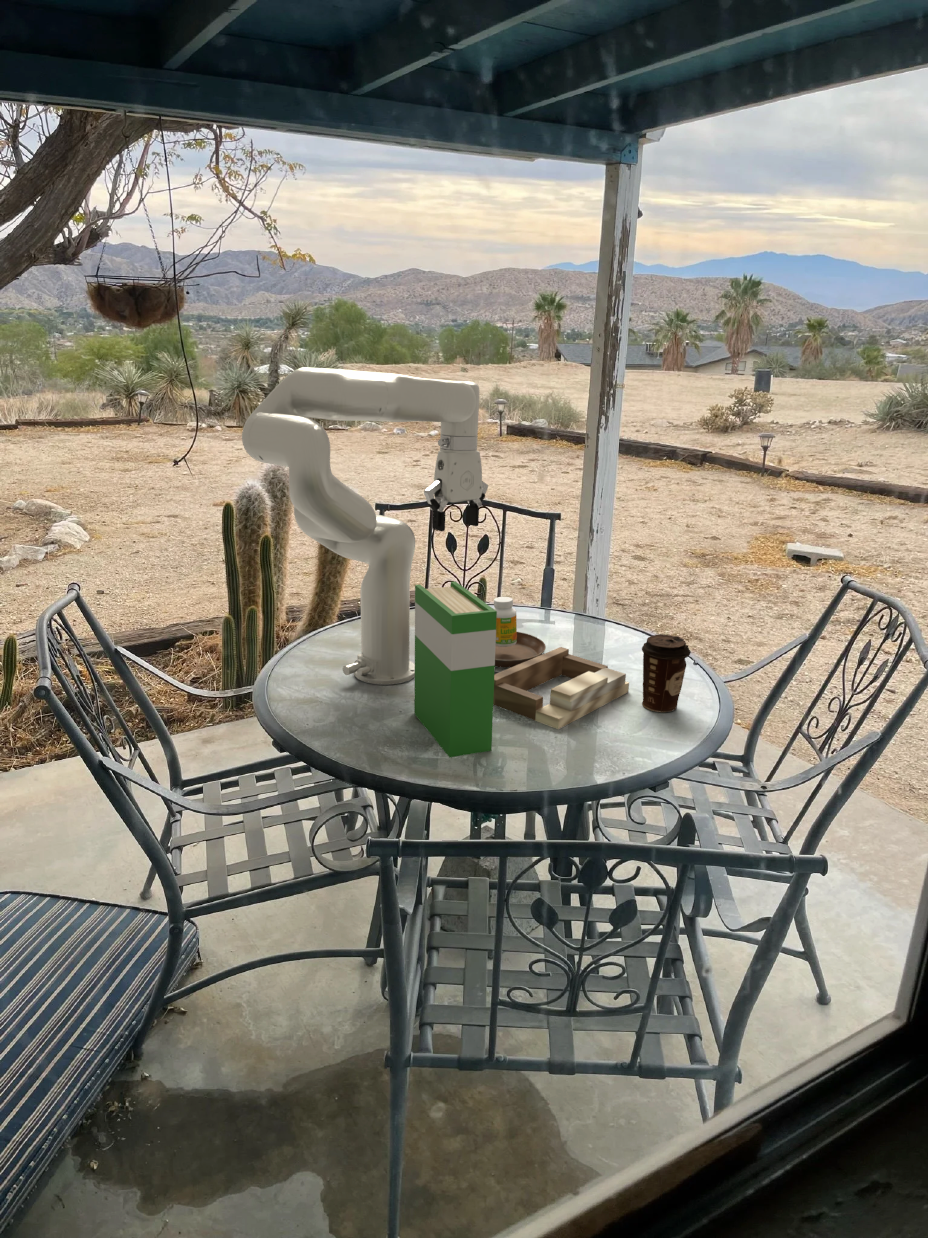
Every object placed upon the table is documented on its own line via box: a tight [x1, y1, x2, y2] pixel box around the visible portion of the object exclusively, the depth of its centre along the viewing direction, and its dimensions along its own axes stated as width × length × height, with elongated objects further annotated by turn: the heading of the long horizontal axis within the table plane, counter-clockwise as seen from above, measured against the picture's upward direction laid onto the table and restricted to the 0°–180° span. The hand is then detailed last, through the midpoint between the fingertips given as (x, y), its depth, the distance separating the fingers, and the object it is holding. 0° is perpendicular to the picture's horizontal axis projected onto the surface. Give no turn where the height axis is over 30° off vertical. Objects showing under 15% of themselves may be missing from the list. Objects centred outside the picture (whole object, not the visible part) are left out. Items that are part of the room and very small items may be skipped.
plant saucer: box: [495, 631, 547, 669], centre depth 181 cm, size 18×18×3 cm
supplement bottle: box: [493, 596, 518, 647], centre depth 179 cm, size 5×5×10 cm
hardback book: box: [413, 581, 497, 758], centre depth 142 cm, size 18×7×24 cm, turn 22°
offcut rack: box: [493, 646, 630, 730], centre depth 160 cm, size 23×16×5 cm
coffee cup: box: [641, 633, 692, 713], centre depth 156 cm, size 9×8×13 cm
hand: (455, 527), depth 177 cm, fingers open, 9 cm apart
